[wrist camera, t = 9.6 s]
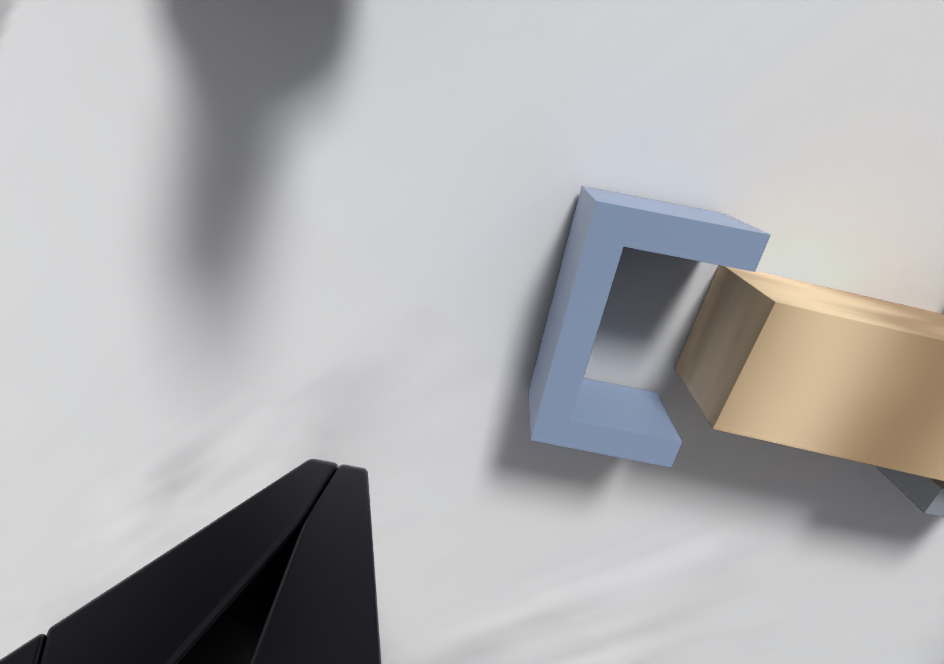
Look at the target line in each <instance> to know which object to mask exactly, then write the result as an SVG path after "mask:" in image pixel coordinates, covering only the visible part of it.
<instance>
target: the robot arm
mask: <svg viewBox="0 0 944 664" xmlns="http://www.w3.org/2000/svg"><path fill="white" fill-rule="evenodd" d="M0 664H381V651H380V637H379V623H378V609H377V595H376V581H375V567H374V552H373V538H372V524H371V510H370V496H369V482H368V472H367V470H366V469H364V468H360V467H355V466H350V465H341V466H339V467H338V465H337V464H336V463H334V462H329V461H323V460H318V459H310V460H308V461H306V462H304V463H303V464H301V465H300V466H298V467H297V468H295V469H294V470H292V471H290V472H289V473H287V474H286V475H284V476H283V477H281V478H280V479H278V480H277V481H275V482H274V483H272V484H270V485H269V486H267V487H266V488H264V489H263V490H261V491H260V492H258V493H257V494H255V495H254V496H252V497H250V498H249V499H247V500H246V501H244V502H243V503H241V504H240V505H238V506H237V507H235V508H234V509H232V510H230V511H229V512H227V513H226V514H224V515H223V516H221V517H220V518H218V519H217V520H215V521H214V522H212V523H210V524H209V525H207V526H206V527H204V528H203V529H201V530H200V531H198V532H197V533H195V534H194V535H192V536H190V537H189V538H187V539H186V540H184V541H183V542H181V543H180V544H178V545H177V546H175V547H174V548H172V549H170V550H169V551H167V552H166V553H164V554H163V555H161V556H160V557H158V558H157V559H155V560H154V561H152V562H151V563H149V564H147V565H146V566H144V567H143V568H141V569H140V570H138V571H137V572H135V573H134V574H132V575H131V576H129V577H127V578H126V579H124V580H123V581H121V582H120V583H118V584H117V585H115V586H114V587H112V588H111V589H109V590H107V591H106V592H104V593H103V594H101V595H100V596H98V597H97V598H95V599H94V600H92V601H91V602H89V603H87V604H86V605H84V606H83V607H81V608H80V609H78V610H77V611H75V612H74V613H72V614H71V615H69V616H67V617H66V618H64V619H63V620H61V621H60V622H58V623H57V624H55V625H54V626H52V627H51V628H50V629H49V630H48V633H47V636H46V635H45V634H40V635H38V636H36V637H35V638H33V639H32V640H30V641H29V642H27V643H25V644H24V645H22V646H21V647H19V648H18V649H16V650H15V651H13V652H12V653H10V654H8V655H7V656H5V657H4V658H2V659H1V660H0Z"/></svg>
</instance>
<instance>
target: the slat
mask: <svg viewBox="0 0 944 664" xmlns="http://www.w3.org/2000/svg"><path fill="white" fill-rule="evenodd" d="M675 370H676V372H677V373H678V375H679V376H680V378H681V380H682V381H683V383H684V384H685V386H686V387H687V389H688V391H689V392H690V394H691V395H692V397H693V398H694V400H695V402H696V403H697V405H698V406H699V408H700V409H701V411H702V413H703V414H704V416H705V417H706V419H707V420H708V422H709V424H710V425H711V427H712V428H713V429H716V430H720V431H724V432H729V433H733V434H738V435H742V436H747V437H751V438H755V439H760V440H764V441H769V442H773V443H778V444H782V445H786V446H791V447H795V448H800V449H804V450H809V451H813V452H818V453H822V454H826V455H831V456H835V457H840V458H844V459H849V460H853V461H857V462H862V463H866V464H871V465H875V466H880V467H884V468H889V469H893V470H897V471H902V472H906V473H911V474H915V475H920V476H924V477H928V478H933V479H937V480H942V481H944V314H941V313H936V312H932V311H928V310H923V309H919V308H915V307H910V306H906V305H901V304H897V303H893V302H888V301H884V300H880V299H875V298H871V297H867V296H862V295H858V294H853V293H849V292H845V291H840V290H836V289H832V288H827V287H823V286H818V285H814V284H810V283H805V282H801V281H797V280H792V279H788V278H784V277H779V276H775V275H770V274H766V273H762V272H757V271H755V272H752V271H747V270H742V269H737V268H731V267H726V266H721V265H719V266H718V269H717V271H716V273H715V276H714V278H713V280H712V283H711V285H710V287H709V290H708V292H707V294H706V297H705V299H704V301H703V304H702V306H701V308H700V311H699V313H698V315H697V318H696V320H695V322H694V324H693V327H692V329H691V331H690V334H689V336H688V338H687V341H686V343H685V345H684V348H683V350H682V352H681V355H680V357H679V359H678V362H677V364H676V366H675Z"/></svg>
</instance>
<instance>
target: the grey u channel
mask: <svg viewBox="0 0 944 664" xmlns="http://www.w3.org/2000/svg"><path fill="white" fill-rule="evenodd" d="M876 467H877V468H878V469H879V470H880V471H881V472H882V473H883V474H884V475H885V476H886V477H887V478H888V479H889V480H890V481H891V482H892V483H894V484H895V485H896V486H897V487H898V488H899V489H900V490H901V491H902V492H903V493H904V494H905V495H906V496H907V497H908V498H909V499H910V500H911V501H912V502H913V503H914V504H915V505H916V506H917V507H918V508H919V509H920V510H921V511H923V512H924V513H926V514H931V515H936V516H941V517H944V481H942V480H937V479H933V478H928V477H924V476H920V475H915V474H911V473H906V472H902V471H897V470H893V469H889V468H884V467H880V466H876Z"/></svg>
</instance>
